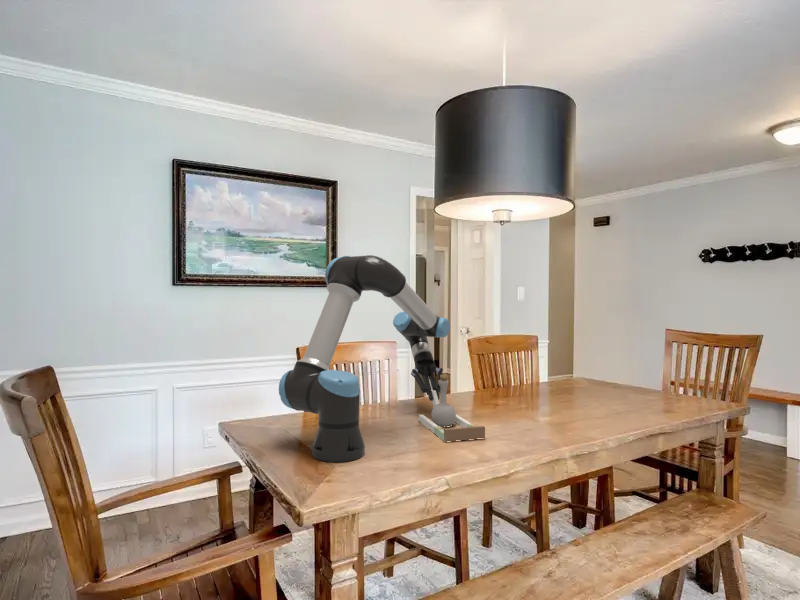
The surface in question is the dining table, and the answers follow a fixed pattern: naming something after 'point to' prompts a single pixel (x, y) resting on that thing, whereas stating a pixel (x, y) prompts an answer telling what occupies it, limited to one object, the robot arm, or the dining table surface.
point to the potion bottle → (443, 406)
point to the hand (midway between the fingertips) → (437, 407)
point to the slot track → (455, 429)
